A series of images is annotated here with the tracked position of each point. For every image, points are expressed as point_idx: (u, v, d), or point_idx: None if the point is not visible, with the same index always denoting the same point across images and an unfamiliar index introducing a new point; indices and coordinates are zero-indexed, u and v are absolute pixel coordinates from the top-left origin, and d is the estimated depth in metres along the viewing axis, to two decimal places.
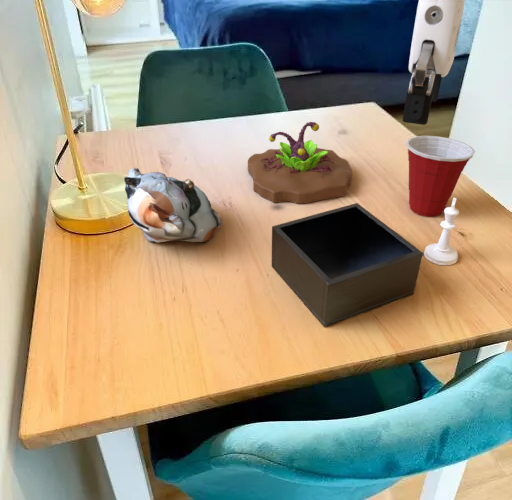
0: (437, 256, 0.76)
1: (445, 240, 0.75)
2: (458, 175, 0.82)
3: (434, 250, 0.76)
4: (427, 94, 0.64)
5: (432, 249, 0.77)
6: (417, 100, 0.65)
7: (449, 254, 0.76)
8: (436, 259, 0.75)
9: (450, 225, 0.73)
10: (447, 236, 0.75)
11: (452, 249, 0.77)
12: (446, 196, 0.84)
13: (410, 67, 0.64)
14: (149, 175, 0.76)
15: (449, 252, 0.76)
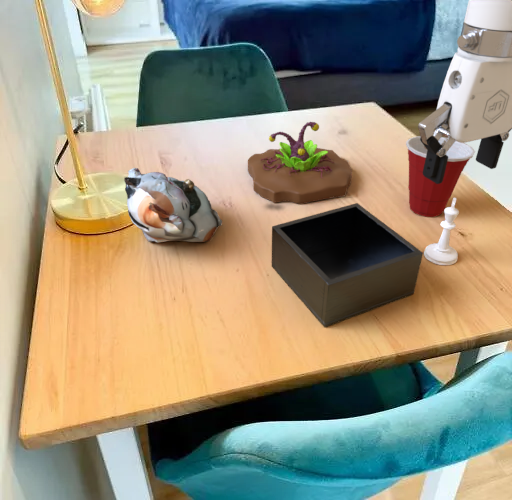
0: (437, 256, 0.76)
1: (445, 240, 0.75)
2: (458, 175, 0.82)
3: (434, 250, 0.76)
4: (437, 154, 0.64)
5: (432, 249, 0.77)
6: (431, 158, 0.65)
7: (449, 254, 0.76)
8: (436, 259, 0.75)
9: (450, 225, 0.73)
10: (447, 236, 0.75)
11: (452, 249, 0.77)
12: (446, 196, 0.84)
13: None
14: (149, 175, 0.76)
15: (449, 252, 0.76)
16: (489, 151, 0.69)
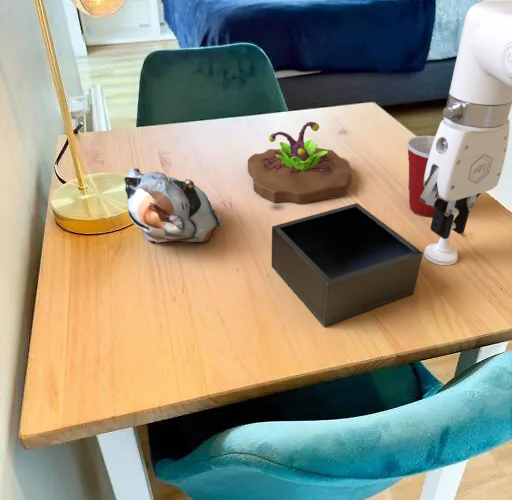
0: (437, 256, 0.76)
1: (445, 240, 0.75)
2: None
3: (434, 250, 0.76)
4: (445, 215, 0.71)
5: (432, 249, 0.77)
6: (438, 216, 0.72)
7: (449, 254, 0.76)
8: (436, 259, 0.75)
9: None
10: None
11: (452, 249, 0.77)
12: None
13: None
14: (149, 175, 0.76)
15: (449, 252, 0.76)
16: (457, 218, 0.74)
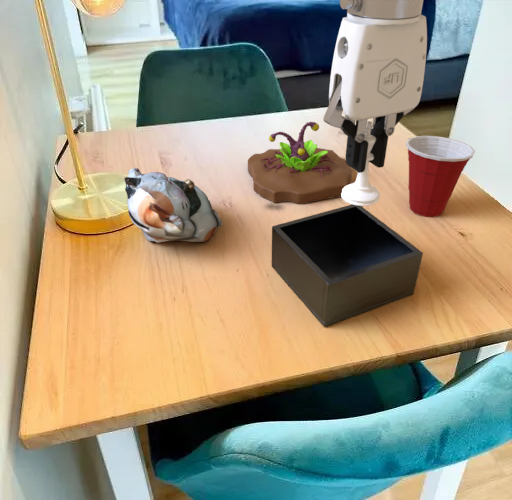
0: (354, 195, 0.64)
1: (363, 176, 0.63)
2: (458, 175, 0.82)
3: (352, 189, 0.65)
4: None
5: (350, 188, 0.65)
6: (350, 144, 0.60)
7: (368, 193, 0.64)
8: (353, 199, 0.63)
9: (367, 156, 0.61)
10: (365, 170, 0.63)
11: (373, 188, 0.65)
12: (446, 196, 0.84)
13: (329, 101, 0.58)
14: (149, 175, 0.76)
15: (369, 191, 0.64)
16: (375, 148, 0.62)
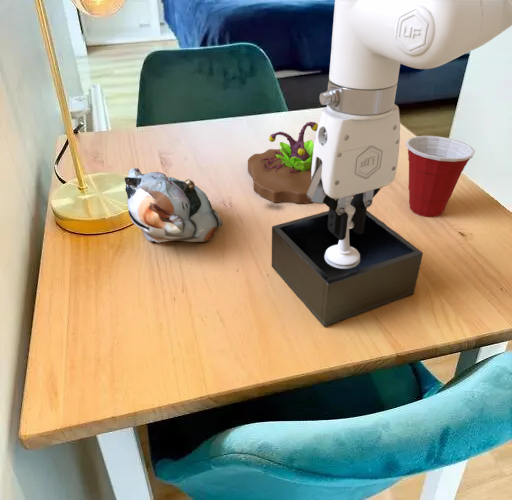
0: (336, 258, 0.69)
1: (344, 241, 0.68)
2: (458, 175, 0.82)
3: (334, 252, 0.70)
4: (338, 214, 0.64)
5: (332, 251, 0.70)
6: (332, 215, 0.65)
7: (349, 256, 0.69)
8: (334, 262, 0.68)
9: (347, 225, 0.67)
10: None
11: (354, 251, 0.70)
12: (446, 196, 0.84)
13: None
14: (149, 175, 0.76)
15: (350, 254, 0.69)
16: (355, 217, 0.67)
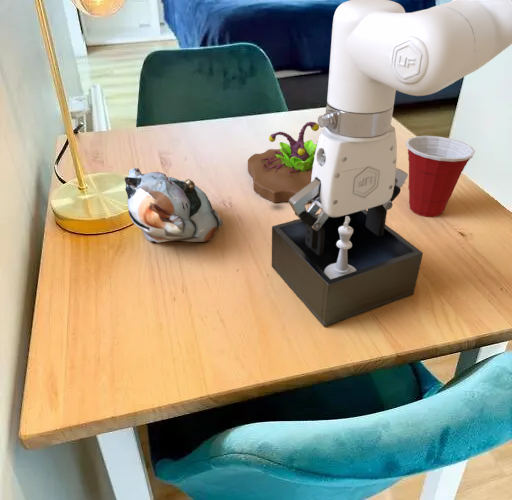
0: (334, 277, 0.71)
1: (342, 260, 0.70)
2: (458, 175, 0.82)
3: (332, 271, 0.71)
4: (312, 228, 0.63)
5: (331, 269, 0.72)
6: (309, 230, 0.65)
7: None
8: None
9: (345, 245, 0.68)
10: (344, 256, 0.70)
11: (352, 270, 0.72)
12: (446, 196, 0.84)
13: None
14: (149, 175, 0.76)
15: None
16: (375, 219, 0.69)
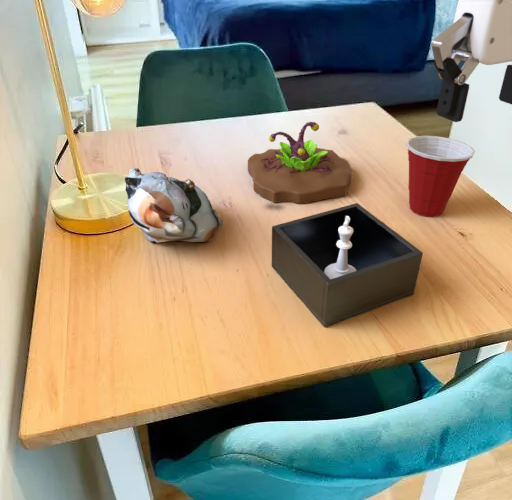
0: (334, 277, 0.71)
1: (342, 260, 0.70)
2: (458, 175, 0.82)
3: (332, 271, 0.71)
4: (456, 82, 0.51)
5: (331, 269, 0.72)
6: (447, 88, 0.53)
7: None
8: None
9: (345, 245, 0.68)
10: (344, 256, 0.70)
11: (352, 269, 0.72)
12: (446, 196, 0.84)
13: None
14: (150, 175, 0.76)
15: None
16: None
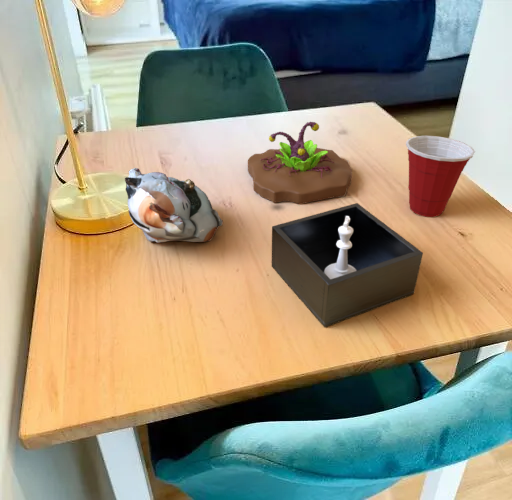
0: (334, 277, 0.71)
1: (342, 260, 0.70)
2: (458, 175, 0.82)
3: (332, 271, 0.71)
4: None
5: (331, 269, 0.72)
6: None
7: None
8: None
9: (345, 245, 0.68)
10: (344, 256, 0.70)
11: (352, 269, 0.72)
12: (446, 196, 0.84)
13: None
14: (150, 175, 0.76)
15: None
16: None
